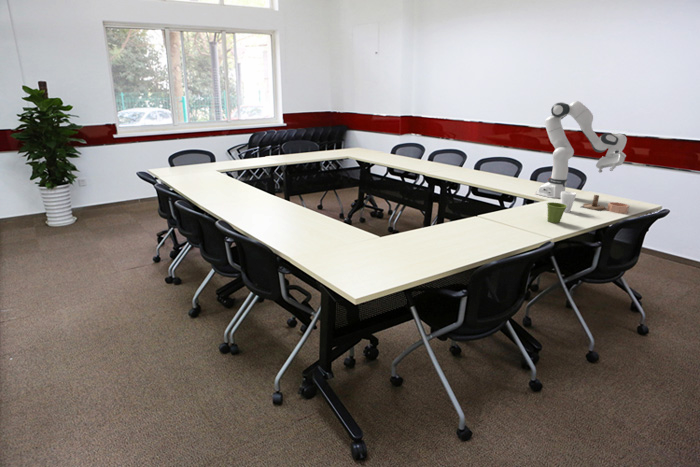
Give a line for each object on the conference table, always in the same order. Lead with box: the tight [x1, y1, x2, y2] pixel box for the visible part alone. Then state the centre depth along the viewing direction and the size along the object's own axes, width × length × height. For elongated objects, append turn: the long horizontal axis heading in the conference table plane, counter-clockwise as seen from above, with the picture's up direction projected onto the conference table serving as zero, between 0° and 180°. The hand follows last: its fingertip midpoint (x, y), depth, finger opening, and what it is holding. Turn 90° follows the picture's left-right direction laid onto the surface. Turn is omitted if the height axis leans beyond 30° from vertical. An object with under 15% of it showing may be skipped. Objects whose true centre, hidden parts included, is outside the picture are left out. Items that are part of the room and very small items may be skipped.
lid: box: [582, 194, 606, 211], centre depth 317 cm, size 14×14×9 cm
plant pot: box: [546, 201, 567, 224], centre depth 281 cm, size 12×12×11 cm
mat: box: [580, 205, 607, 212], centre depth 318 cm, size 14×14×1 cm
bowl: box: [606, 201, 630, 214], centre depth 311 cm, size 12×12×5 cm
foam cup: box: [559, 190, 577, 213], centre depth 306 cm, size 10×9×13 cm
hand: (605, 171), depth 317 cm, fingers open, 8 cm apart
